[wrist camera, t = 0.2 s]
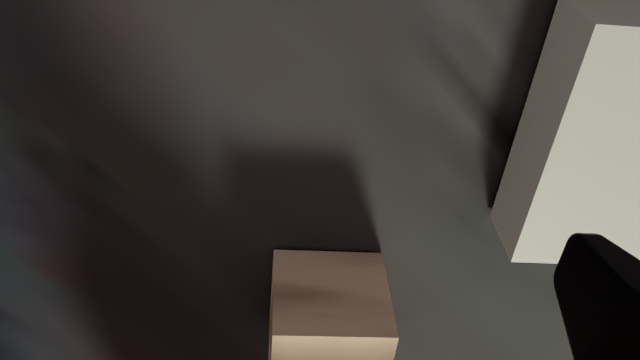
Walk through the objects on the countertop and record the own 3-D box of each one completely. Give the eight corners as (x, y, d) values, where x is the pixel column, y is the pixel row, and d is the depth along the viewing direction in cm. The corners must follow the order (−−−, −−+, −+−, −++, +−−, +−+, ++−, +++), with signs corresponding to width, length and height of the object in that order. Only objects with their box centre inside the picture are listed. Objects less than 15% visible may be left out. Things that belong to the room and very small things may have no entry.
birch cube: (367, 326, 31) (380, 413, 27) (269, 324, 31) (267, 412, 26) (381, 253, 28) (398, 337, 24) (273, 249, 28) (272, 335, 24)
